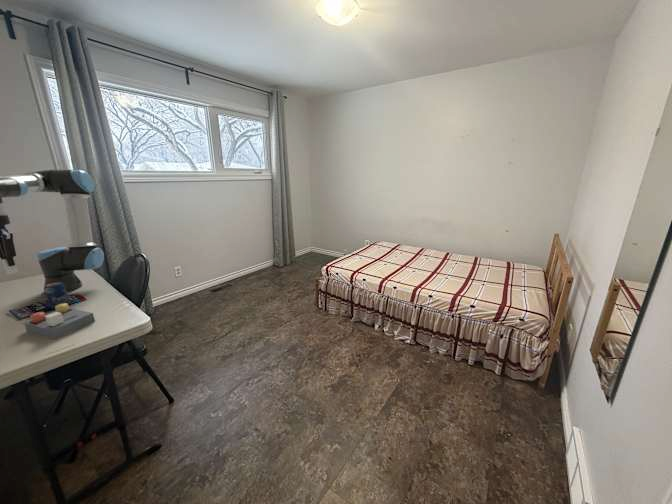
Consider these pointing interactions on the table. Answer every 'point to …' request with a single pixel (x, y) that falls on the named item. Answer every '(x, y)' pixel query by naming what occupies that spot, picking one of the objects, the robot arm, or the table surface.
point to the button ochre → (62, 308)
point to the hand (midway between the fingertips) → (13, 273)
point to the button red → (38, 317)
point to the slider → (54, 319)
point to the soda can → (56, 294)
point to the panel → (61, 324)
